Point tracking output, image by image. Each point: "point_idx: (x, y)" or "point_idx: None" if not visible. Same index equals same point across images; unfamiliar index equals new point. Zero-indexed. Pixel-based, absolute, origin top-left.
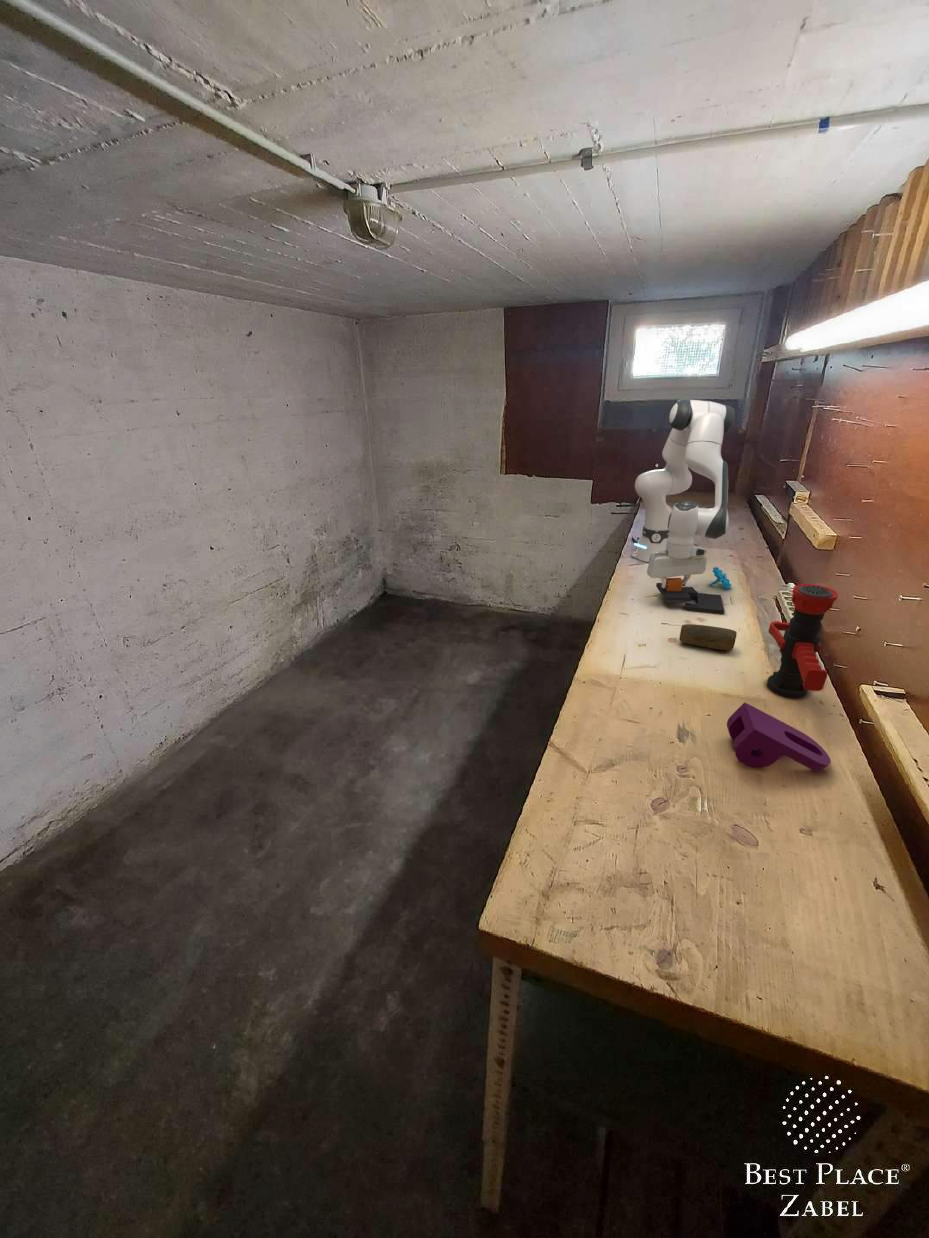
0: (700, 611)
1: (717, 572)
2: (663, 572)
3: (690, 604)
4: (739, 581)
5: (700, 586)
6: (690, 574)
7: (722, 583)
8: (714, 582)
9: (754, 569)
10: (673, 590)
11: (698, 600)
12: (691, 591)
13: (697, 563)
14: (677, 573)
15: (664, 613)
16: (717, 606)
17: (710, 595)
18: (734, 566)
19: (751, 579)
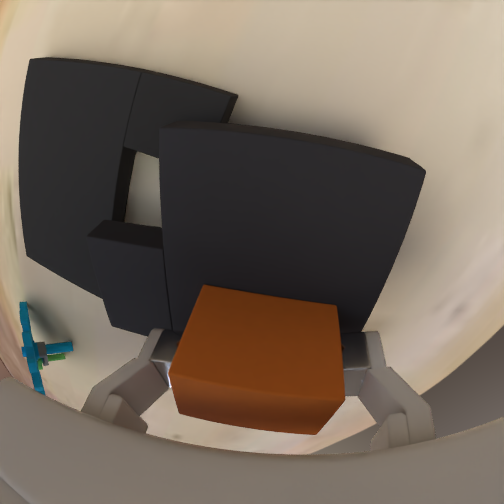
0: (140, 69)
1: (31, 374)
2: (473, 495)
3: None
4: (21, 335)
5: (100, 352)
6: (76, 415)
7: (23, 322)
8: (56, 347)
9: (17, 362)
10: (278, 302)
11: (109, 204)
12: (124, 262)
13: (2, 482)
14: (238, 490)
15: (417, 81)
16: (39, 111)
17: (55, 258)
18: (47, 386)
19: (7, 333)
